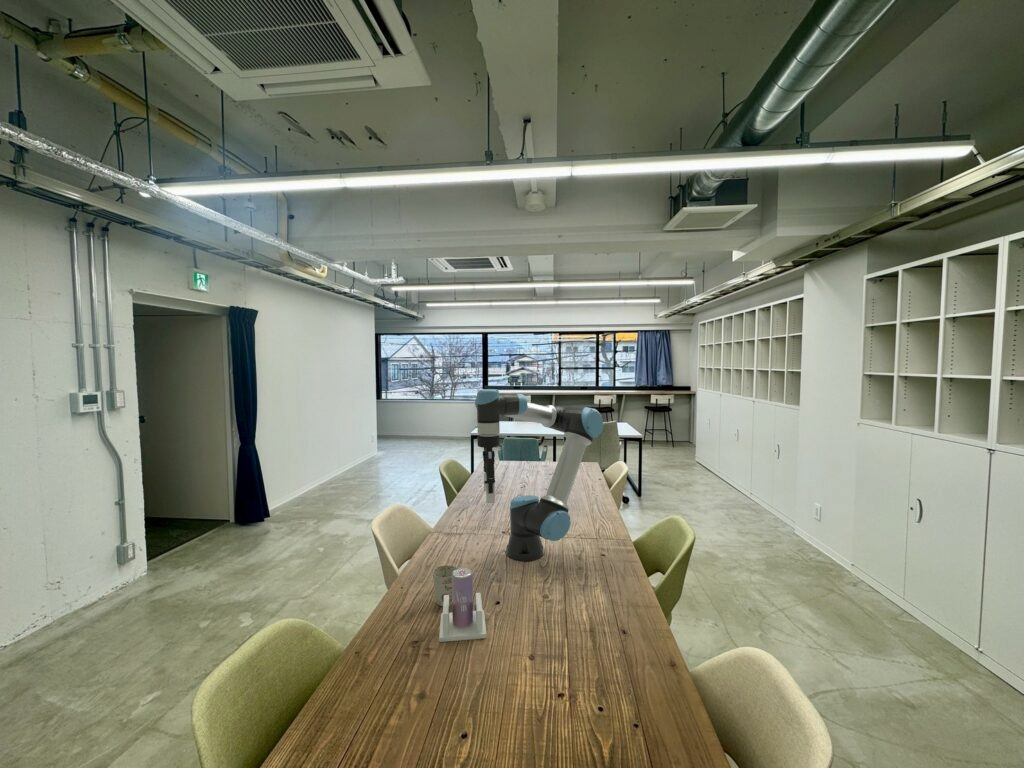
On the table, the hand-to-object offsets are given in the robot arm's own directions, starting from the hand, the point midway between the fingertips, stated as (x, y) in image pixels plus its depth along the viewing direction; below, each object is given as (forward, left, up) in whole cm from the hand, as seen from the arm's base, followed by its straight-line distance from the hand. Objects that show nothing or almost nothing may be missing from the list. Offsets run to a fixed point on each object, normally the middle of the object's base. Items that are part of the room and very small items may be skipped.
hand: (489, 496), depth 145 cm
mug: (+15, -5, -32) cm, 36 cm away
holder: (+20, +12, -32) cm, 39 cm away
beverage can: (+20, +12, -31) cm, 39 cm away
